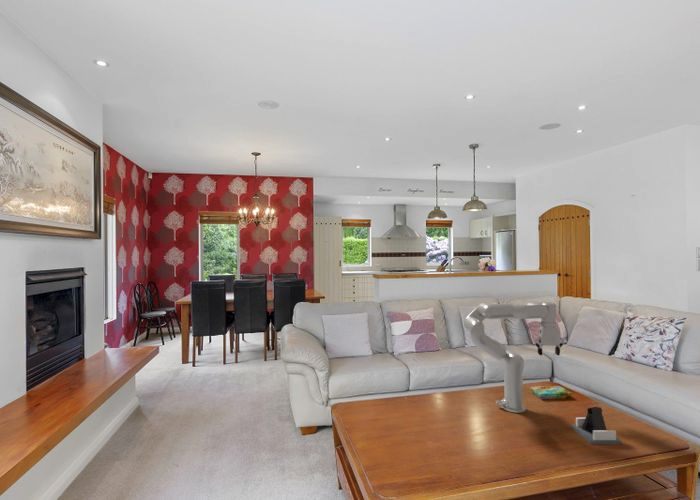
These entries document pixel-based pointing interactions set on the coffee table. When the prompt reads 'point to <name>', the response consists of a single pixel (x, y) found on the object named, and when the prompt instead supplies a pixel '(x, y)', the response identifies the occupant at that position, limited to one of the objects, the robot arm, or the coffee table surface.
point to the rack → (596, 434)
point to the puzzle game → (550, 392)
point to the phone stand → (594, 420)
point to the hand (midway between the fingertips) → (548, 354)
